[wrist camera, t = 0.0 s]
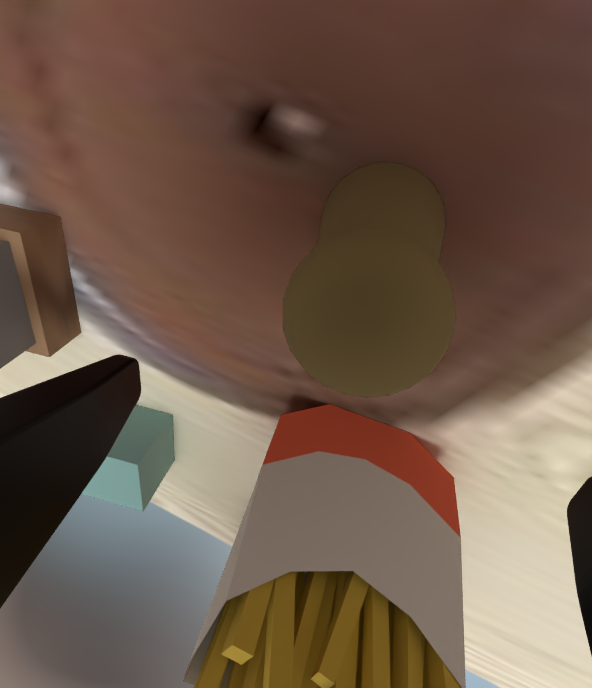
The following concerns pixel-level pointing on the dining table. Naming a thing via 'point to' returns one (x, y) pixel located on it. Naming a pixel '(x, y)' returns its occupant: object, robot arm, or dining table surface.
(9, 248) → the charcoal block
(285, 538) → the french fries container
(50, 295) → the walnut slab
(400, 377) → the cork
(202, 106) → the dining table surface
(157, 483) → the teal cube
